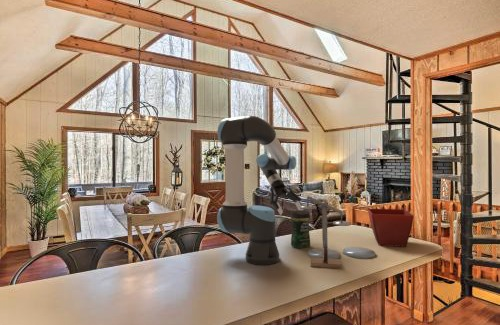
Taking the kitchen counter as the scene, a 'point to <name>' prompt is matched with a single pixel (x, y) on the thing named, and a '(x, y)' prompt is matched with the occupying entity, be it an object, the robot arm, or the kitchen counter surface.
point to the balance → (325, 235)
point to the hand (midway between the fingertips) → (292, 212)
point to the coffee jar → (300, 229)
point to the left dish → (319, 253)
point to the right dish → (358, 252)
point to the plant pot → (391, 226)
